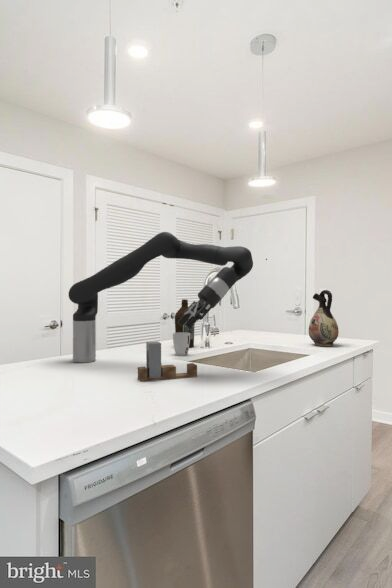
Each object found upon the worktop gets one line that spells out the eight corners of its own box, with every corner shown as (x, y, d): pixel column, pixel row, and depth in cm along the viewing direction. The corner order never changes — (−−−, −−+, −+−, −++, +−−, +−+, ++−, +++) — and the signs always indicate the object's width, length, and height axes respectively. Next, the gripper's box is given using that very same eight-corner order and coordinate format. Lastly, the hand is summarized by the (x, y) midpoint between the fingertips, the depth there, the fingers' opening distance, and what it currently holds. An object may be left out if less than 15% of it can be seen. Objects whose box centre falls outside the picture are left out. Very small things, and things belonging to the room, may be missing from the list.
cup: (189, 356, 173) (189, 334, 173) (172, 356, 173) (172, 334, 173) (190, 353, 181) (190, 332, 181) (173, 353, 181) (173, 332, 181)
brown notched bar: (140, 381, 126) (140, 369, 126) (137, 378, 129) (137, 367, 129) (197, 376, 132) (197, 365, 132) (193, 374, 136) (193, 363, 136)
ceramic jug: (302, 344, 209) (302, 289, 209) (323, 342, 216) (324, 289, 215) (324, 348, 194) (325, 290, 193) (347, 346, 200) (347, 289, 200)
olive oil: (171, 346, 202) (170, 299, 202) (187, 345, 208) (187, 299, 207) (181, 349, 193) (181, 299, 193) (198, 347, 199) (198, 299, 199)
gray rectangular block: (149, 378, 127) (149, 343, 126) (146, 375, 131) (146, 342, 131) (161, 377, 128) (161, 343, 128) (157, 374, 132) (157, 341, 132)
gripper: (199, 285, 142) (170, 316, 138) (214, 284, 129) (182, 319, 125) (212, 299, 144) (184, 330, 140) (228, 300, 131) (197, 335, 127)
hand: (183, 325), depth 133 cm, fingers open, 8 cm apart
